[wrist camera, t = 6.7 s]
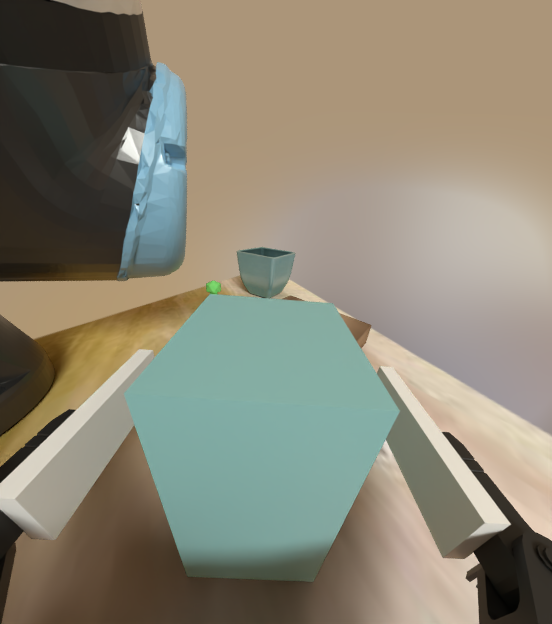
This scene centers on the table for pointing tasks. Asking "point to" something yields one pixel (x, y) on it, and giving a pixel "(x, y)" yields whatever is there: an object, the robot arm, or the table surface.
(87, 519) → the table surface
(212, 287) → the game piece
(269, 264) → the flower pot
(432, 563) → the table surface
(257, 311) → the teal pillar block
